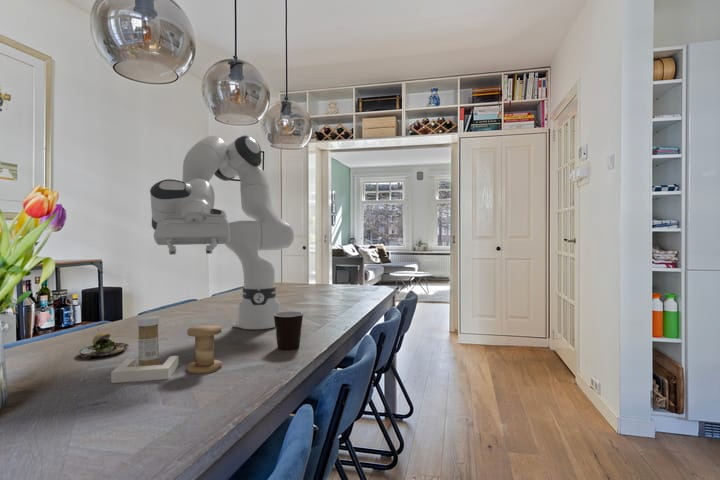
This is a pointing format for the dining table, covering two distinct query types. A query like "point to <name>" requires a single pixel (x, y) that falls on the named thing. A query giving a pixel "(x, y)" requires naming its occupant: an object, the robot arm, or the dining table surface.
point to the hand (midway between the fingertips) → (190, 252)
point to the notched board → (143, 371)
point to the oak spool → (204, 349)
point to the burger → (102, 347)
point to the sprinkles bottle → (148, 340)
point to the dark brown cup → (288, 329)
